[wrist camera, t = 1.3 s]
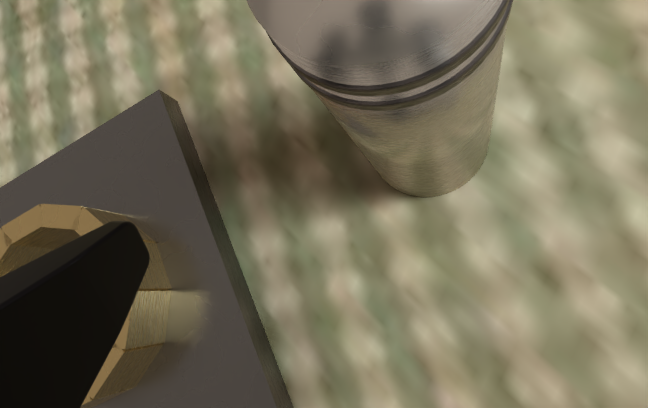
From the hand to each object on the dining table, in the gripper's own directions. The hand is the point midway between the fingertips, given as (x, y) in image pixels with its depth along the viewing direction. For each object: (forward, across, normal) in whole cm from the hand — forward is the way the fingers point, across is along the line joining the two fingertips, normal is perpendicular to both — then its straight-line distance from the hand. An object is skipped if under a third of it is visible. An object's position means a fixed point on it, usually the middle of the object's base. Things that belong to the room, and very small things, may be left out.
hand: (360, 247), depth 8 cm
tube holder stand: (+6, +15, +10) cm, 19 cm away
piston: (+12, 0, +4) cm, 13 cm away
